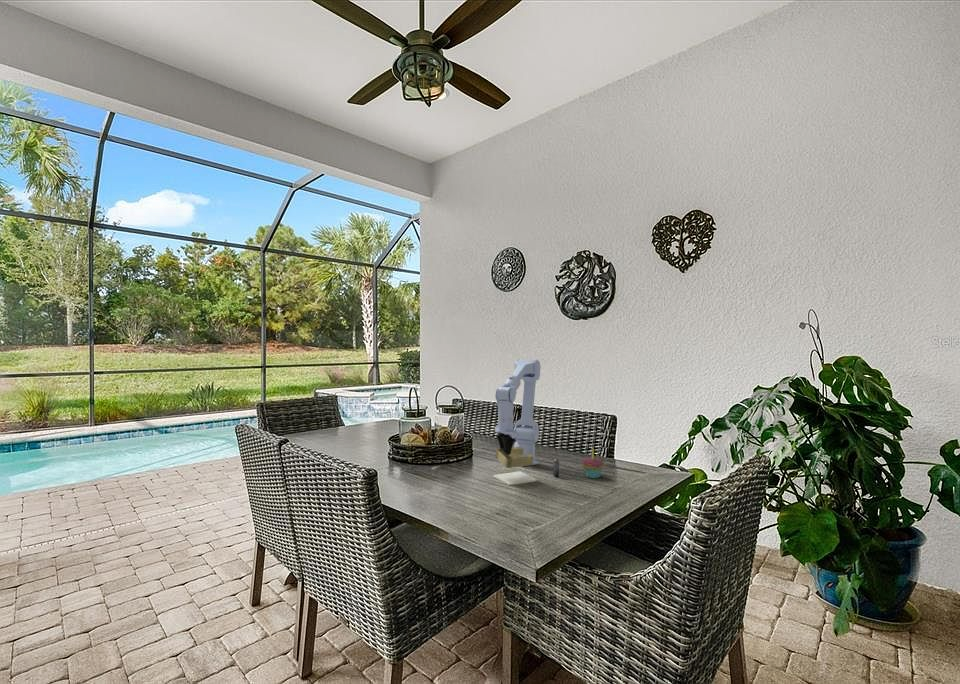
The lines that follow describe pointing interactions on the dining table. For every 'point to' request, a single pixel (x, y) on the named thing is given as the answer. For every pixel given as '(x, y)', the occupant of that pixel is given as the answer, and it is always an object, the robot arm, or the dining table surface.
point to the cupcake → (592, 466)
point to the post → (556, 468)
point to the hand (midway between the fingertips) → (505, 453)
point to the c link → (514, 457)
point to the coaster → (514, 478)
